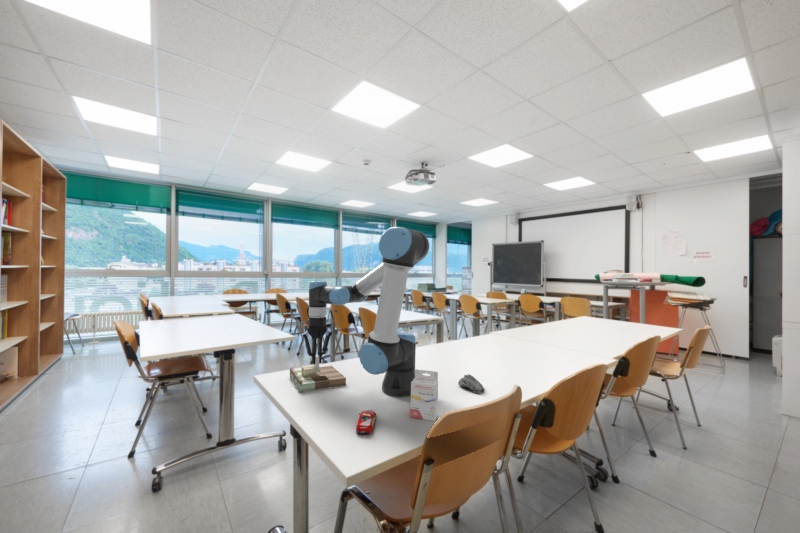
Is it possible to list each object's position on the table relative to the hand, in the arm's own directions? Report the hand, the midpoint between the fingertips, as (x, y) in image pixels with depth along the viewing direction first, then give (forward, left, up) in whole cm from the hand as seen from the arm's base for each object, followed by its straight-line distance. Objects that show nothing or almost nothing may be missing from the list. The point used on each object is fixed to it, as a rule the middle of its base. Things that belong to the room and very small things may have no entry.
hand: (316, 371), depth 142 cm
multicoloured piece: (0, 0, -4) cm, 4 cm away
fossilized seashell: (-37, -55, -5) cm, 66 cm away
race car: (-47, -3, -5) cm, 47 cm away
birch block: (0, +3, -1) cm, 4 cm away
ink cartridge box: (-50, -23, -5) cm, 55 cm away
